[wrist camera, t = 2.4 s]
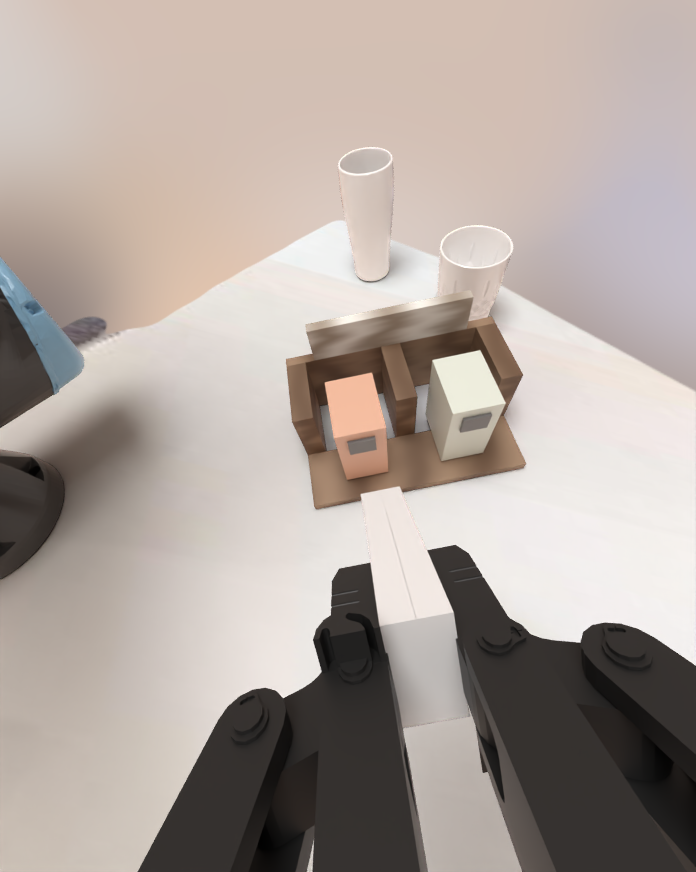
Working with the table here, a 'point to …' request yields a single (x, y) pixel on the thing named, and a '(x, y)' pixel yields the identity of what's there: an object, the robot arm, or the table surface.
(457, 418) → the cream rectangular block
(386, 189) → the drinking glass
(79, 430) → the table surface
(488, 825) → the table surface
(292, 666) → the table surface
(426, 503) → the table surface
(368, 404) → the peach rectangular block
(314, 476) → the wooden rack
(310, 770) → the robot arm
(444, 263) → the white cup
